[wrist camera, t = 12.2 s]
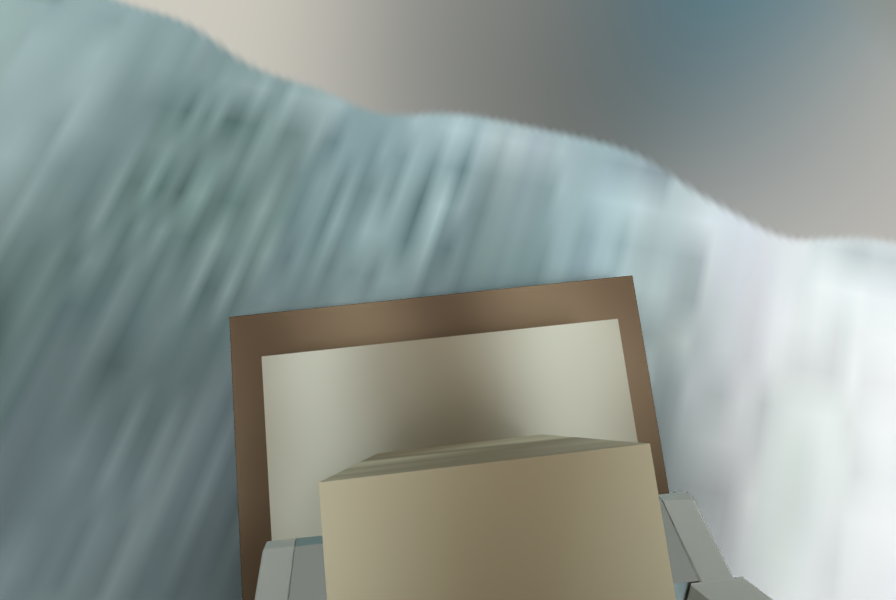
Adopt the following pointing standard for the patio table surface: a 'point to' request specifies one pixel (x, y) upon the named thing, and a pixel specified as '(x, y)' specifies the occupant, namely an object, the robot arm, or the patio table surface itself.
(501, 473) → the birch block
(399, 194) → the patio table surface
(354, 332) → the plinth
